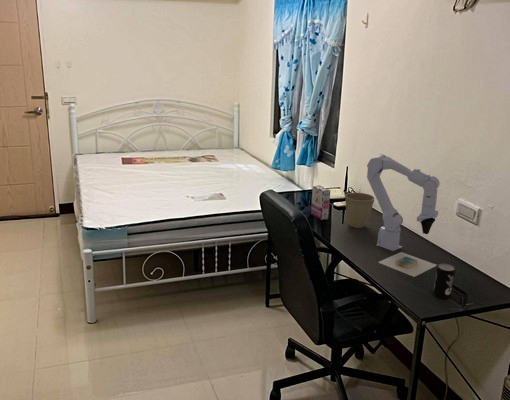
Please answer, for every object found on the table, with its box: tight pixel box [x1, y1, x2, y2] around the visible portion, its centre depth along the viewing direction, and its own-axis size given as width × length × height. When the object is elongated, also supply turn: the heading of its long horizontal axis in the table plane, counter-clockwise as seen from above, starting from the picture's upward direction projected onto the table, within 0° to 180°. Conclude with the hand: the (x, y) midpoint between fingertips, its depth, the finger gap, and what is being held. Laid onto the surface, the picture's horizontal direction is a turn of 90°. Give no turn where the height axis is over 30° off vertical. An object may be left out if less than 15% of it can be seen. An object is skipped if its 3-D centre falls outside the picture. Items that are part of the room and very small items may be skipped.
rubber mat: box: [377, 251, 438, 278], centre depth 216 cm, size 18×18×1 cm
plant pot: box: [344, 192, 376, 229], centre depth 259 cm, size 15×15×16 cm
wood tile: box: [395, 257, 418, 269], centre depth 215 cm, size 6×2×8 cm
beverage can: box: [432, 263, 456, 300], centre depth 188 cm, size 7×7×12 cm
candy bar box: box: [310, 184, 331, 221], centre depth 271 cm, size 11×5×16 cm, turn 25°
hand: (425, 233), depth 224 cm, fingers closed
